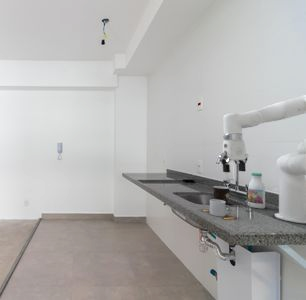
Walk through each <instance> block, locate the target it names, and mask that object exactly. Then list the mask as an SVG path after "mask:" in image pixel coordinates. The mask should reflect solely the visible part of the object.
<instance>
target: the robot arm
mask: <svg viewBox="0 0 306 300" xmlns="http://www.w3.org/2000/svg"><path fill="white" fill-rule="evenodd" d="M304 114H306V94H303V95H299V96H296V97H293V98H290V99H286V100H283V101H279V102H275V103H272V104H269V105H267V106H265V107H262V108H257V109H254V110H251V111H246V112H229V113H225V114H224V115H223V117H222V122H223V123H222V124H223V136H222V137H223V142H222V151H221V152H222V153H221V154H219V155H218V159H219V162H220V163H221V165H222V173H227V174H228V173H230V172H231V167H230V166H231V165H230V164H229V163H230V162H231V161H237V162H238V164H237V167H238V168H237V169H238V172H246V164H247V162H248V158H249V154H248V153H247V149H246V144H245V140H243V129H247V128H253V127H254V128H255V127H257V126H259V125H262V124H264V123H270V122H276V121H281V120H286V119H289V118H294V117H296V116H300V115H304ZM296 152H297V153H287V154H283V155H281V156H280V157H278V159H277V160H276V169H277V173H278V212H277V213H274V217H275V218H276V219H278V220H282V221H285V222H290V223H296V224H306V138H305V139H304V140H302V141H301V142H300V143H299V144H298V145H297V147H296Z"/></svg>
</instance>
